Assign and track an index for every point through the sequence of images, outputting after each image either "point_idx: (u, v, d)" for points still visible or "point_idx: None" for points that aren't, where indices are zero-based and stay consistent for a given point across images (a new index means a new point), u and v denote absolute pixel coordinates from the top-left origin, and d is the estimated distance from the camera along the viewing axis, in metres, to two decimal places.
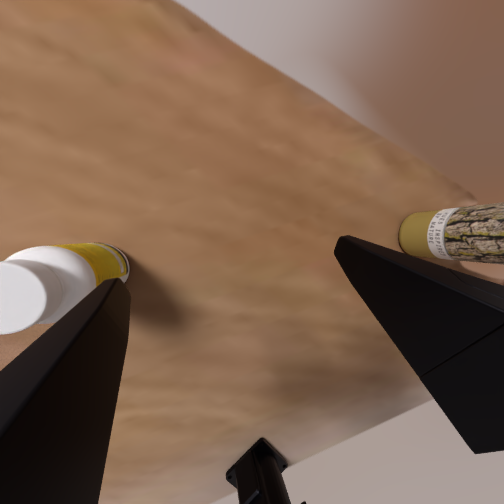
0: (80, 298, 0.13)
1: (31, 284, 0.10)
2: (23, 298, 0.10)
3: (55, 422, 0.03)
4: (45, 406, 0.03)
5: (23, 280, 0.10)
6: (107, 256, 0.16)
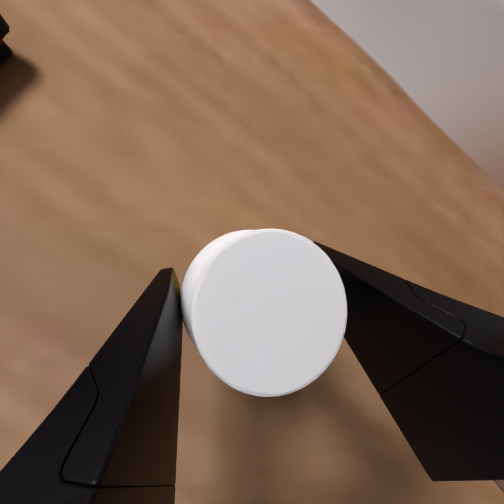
0: None
1: (331, 296, 0.05)
2: (310, 320, 0.05)
3: (153, 390, 0.04)
4: (148, 375, 0.04)
5: (323, 283, 0.05)
6: None
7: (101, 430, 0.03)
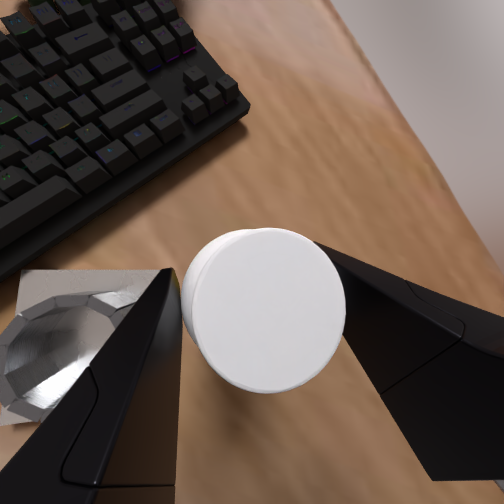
0: None
1: (330, 294, 0.05)
2: (309, 319, 0.05)
3: (153, 390, 0.04)
4: (148, 375, 0.04)
5: (321, 281, 0.05)
6: None
7: (101, 430, 0.03)
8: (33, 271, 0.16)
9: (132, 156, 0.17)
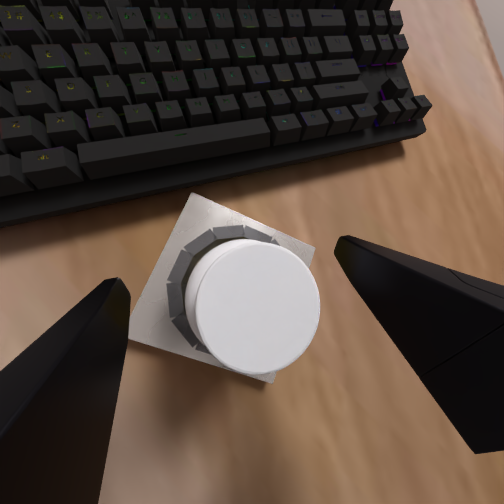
0: None
1: (307, 296, 0.06)
2: (289, 315, 0.06)
3: (55, 422, 0.03)
4: (45, 406, 0.03)
5: (300, 285, 0.06)
6: None
7: None
8: (200, 197, 0.16)
9: (325, 130, 0.17)
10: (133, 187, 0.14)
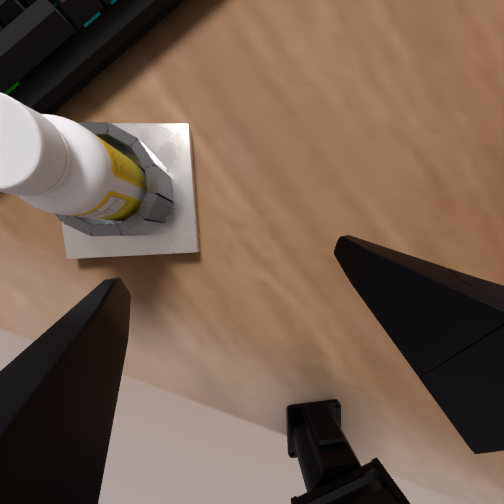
0: (93, 177, 0.10)
1: (20, 120, 0.08)
2: (13, 139, 0.08)
3: (55, 422, 0.03)
4: (45, 406, 0.03)
5: (10, 114, 0.08)
6: (128, 158, 0.14)
7: None
8: None
9: None
10: None
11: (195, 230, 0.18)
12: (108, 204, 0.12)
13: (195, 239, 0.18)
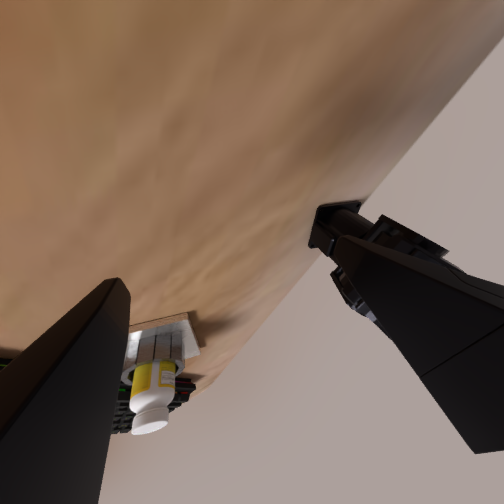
0: (153, 397, 0.23)
1: (139, 428, 0.22)
2: (147, 426, 0.22)
3: (55, 422, 0.04)
4: (45, 406, 0.03)
5: (138, 429, 0.22)
6: (137, 370, 0.25)
7: None
8: None
9: None
10: None
11: (172, 322, 0.27)
12: (165, 381, 0.25)
13: (178, 321, 0.27)
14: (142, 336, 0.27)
